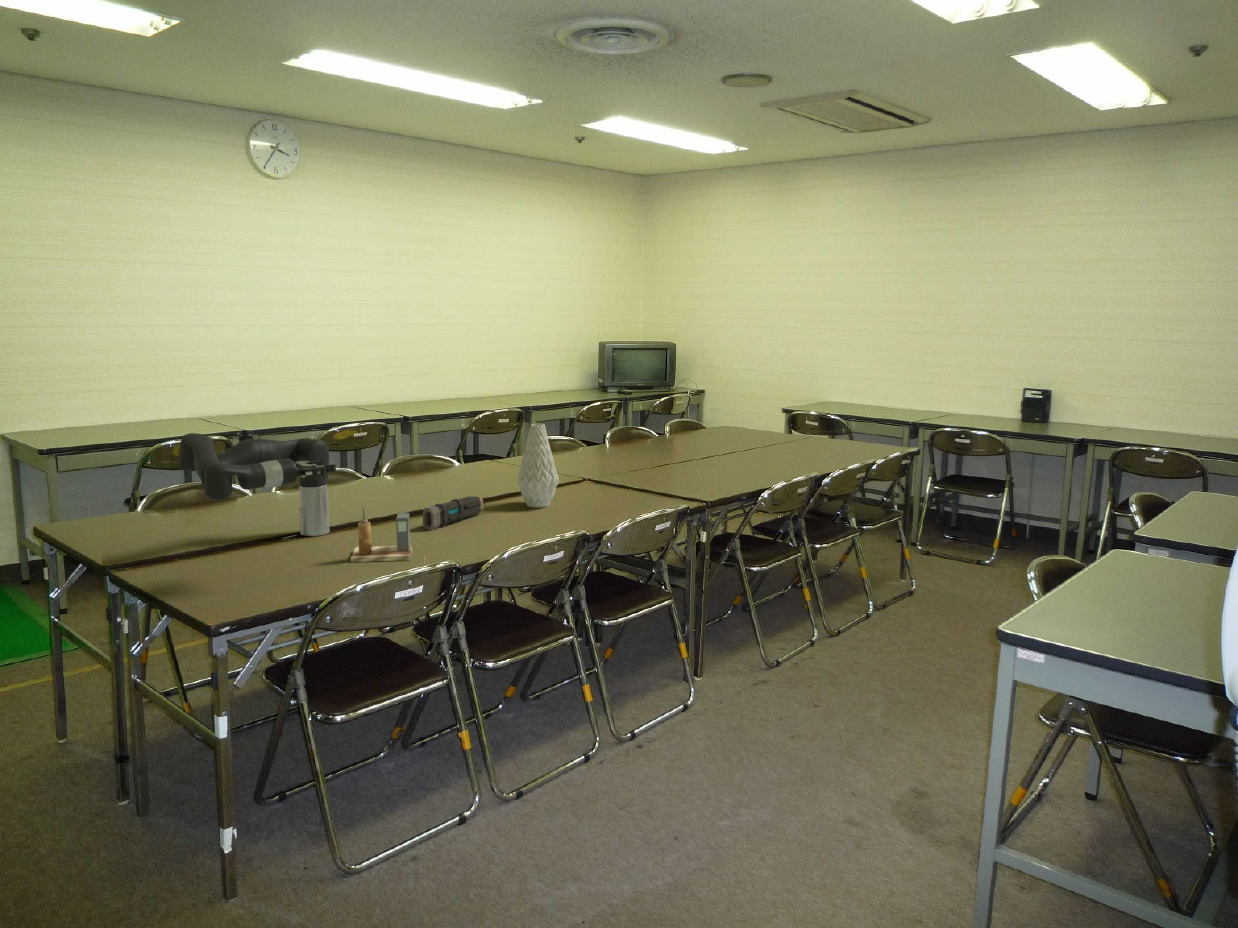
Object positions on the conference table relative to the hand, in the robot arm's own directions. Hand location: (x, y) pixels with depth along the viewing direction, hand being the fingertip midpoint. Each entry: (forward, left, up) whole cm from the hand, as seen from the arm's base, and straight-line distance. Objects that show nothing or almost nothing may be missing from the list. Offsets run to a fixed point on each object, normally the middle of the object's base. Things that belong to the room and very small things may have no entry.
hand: (328, 465), depth 270 cm
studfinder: (+20, +11, -30) cm, 38 cm away
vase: (+68, +74, -31) cm, 106 cm away
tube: (+36, +52, -32) cm, 70 cm away
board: (+14, +8, -31) cm, 35 cm away
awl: (+9, +6, -30) cm, 32 cm away
